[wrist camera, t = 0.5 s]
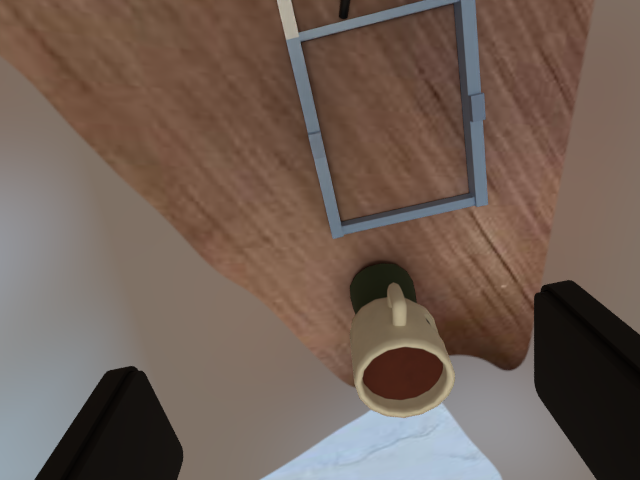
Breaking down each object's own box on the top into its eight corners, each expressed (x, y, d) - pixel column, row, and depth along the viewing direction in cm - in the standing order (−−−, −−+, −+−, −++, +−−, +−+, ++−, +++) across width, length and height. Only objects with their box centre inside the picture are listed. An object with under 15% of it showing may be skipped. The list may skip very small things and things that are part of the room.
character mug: (415, 329, 42) (451, 434, 30) (347, 333, 43) (357, 439, 31) (417, 235, 38) (460, 315, 26) (342, 240, 38) (351, 321, 26)
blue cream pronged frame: (228, -207, 25) (222, -230, 23) (447, -272, 25) (460, -302, 23) (332, 232, 38) (333, 241, 36) (480, 199, 37) (490, 206, 35)
